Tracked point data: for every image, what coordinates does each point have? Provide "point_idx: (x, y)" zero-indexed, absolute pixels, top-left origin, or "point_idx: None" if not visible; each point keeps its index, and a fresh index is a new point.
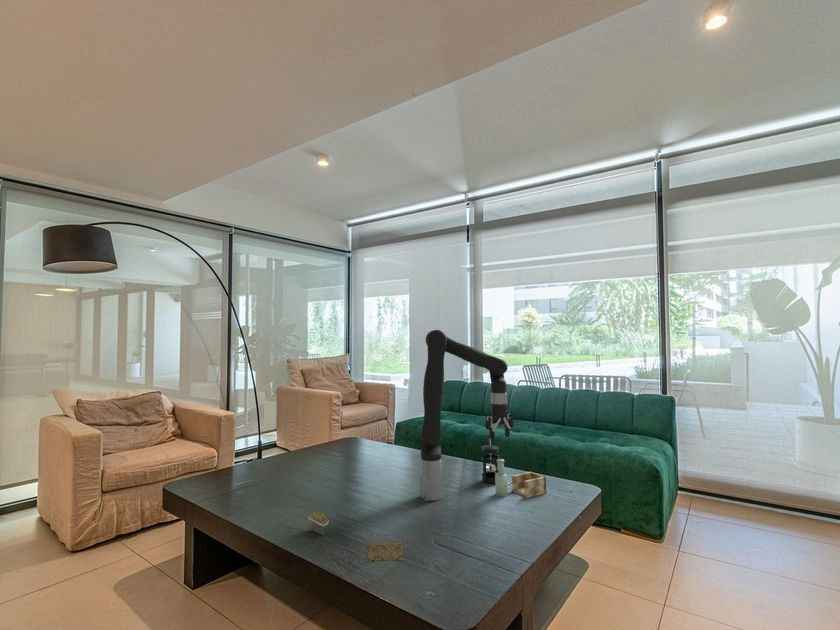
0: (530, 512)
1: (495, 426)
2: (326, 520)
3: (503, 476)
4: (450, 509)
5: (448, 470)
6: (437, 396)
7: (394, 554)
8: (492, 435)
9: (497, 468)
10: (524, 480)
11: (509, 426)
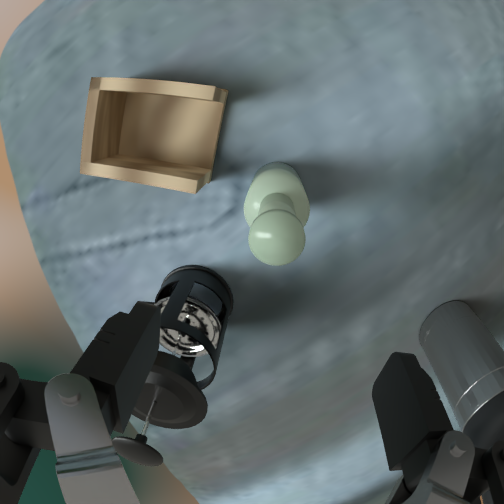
0: (340, 7)
1: (451, 492)
2: None
3: (290, 180)
4: (490, 229)
5: (231, 425)
6: None
7: None
8: (424, 393)
9: (178, 300)
10: (142, 163)
11: (58, 407)
